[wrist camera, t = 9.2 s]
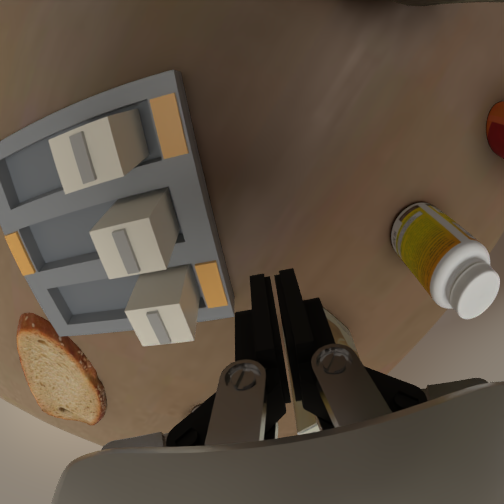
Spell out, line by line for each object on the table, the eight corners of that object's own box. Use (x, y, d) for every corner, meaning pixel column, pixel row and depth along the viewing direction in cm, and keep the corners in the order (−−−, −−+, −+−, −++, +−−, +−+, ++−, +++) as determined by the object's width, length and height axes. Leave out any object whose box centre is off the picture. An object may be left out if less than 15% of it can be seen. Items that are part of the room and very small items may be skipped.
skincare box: (350, 329, 31) (388, 429, 20) (318, 352, 32) (343, 452, 22) (312, 297, 29) (347, 409, 18) (277, 324, 30) (295, 436, 19)
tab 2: (142, 267, 25) (123, 313, 20) (189, 259, 24) (178, 306, 19) (156, 300, 26) (141, 349, 21) (200, 293, 26) (193, 343, 21)
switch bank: (-5, 147, 20) (-26, 156, 17) (180, 71, 19) (172, 69, 16) (68, 319, 29) (58, 338, 26) (234, 296, 28) (234, 319, 25)
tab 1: (117, 199, 22) (87, 234, 17) (167, 187, 22) (147, 219, 16) (132, 239, 23) (107, 282, 18) (180, 229, 23) (165, 272, 18)
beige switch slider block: (87, 125, 19) (45, 141, 14) (137, 108, 19) (105, 116, 14) (99, 169, 20) (62, 196, 15) (149, 154, 20) (122, 177, 15)
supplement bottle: (385, 259, 27) (438, 335, 18) (391, 201, 24) (461, 266, 15) (434, 253, 27) (493, 320, 18) (443, 199, 24) (517, 256, 15)
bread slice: (31, 300, 28) (16, 322, 25) (147, 392, 35) (142, 416, 32) (-7, 354, 33) (-17, 372, 30) (83, 421, 40) (77, 439, 37)
